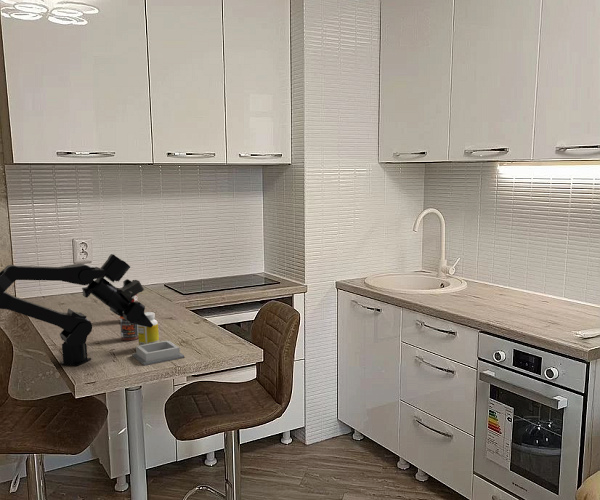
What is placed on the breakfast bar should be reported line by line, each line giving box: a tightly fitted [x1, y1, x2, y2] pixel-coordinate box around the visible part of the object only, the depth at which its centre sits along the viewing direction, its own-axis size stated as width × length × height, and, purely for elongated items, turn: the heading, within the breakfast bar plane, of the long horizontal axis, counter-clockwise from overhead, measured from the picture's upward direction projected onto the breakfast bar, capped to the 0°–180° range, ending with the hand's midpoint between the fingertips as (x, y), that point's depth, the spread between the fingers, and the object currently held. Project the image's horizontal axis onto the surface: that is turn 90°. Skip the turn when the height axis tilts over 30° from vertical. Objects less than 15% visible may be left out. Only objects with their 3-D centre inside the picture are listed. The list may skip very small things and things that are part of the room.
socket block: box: [131, 340, 185, 366], centre depth 172 cm, size 12×12×3 cm
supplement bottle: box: [119, 316, 139, 342], centre depth 193 cm, size 6×6×11 cm
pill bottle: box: [137, 311, 160, 346], centre depth 181 cm, size 6×6×11 cm
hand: (147, 323), depth 181 cm, fingers open, 9 cm apart
